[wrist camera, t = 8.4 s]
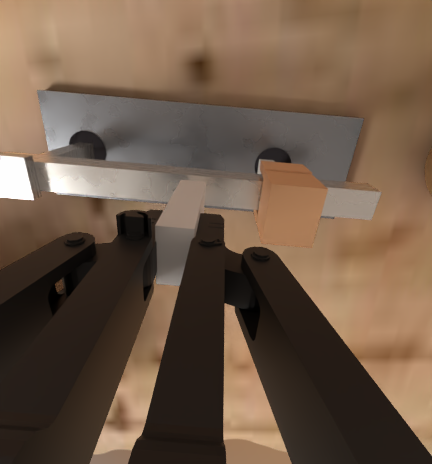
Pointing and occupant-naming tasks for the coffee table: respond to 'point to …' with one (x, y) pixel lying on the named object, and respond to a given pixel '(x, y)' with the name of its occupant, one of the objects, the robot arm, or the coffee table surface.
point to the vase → (429, 172)
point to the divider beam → (156, 182)
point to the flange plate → (198, 135)
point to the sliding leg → (289, 204)
